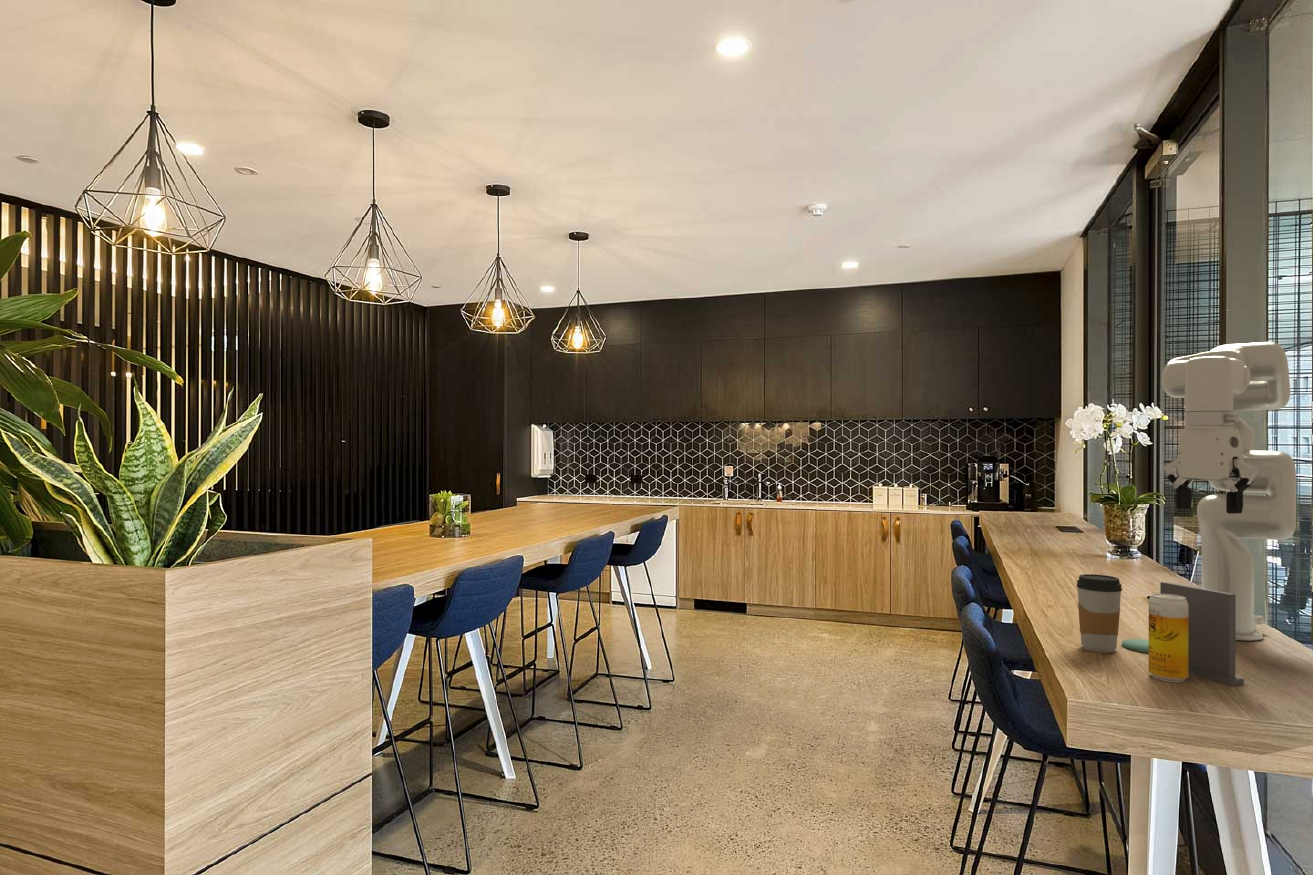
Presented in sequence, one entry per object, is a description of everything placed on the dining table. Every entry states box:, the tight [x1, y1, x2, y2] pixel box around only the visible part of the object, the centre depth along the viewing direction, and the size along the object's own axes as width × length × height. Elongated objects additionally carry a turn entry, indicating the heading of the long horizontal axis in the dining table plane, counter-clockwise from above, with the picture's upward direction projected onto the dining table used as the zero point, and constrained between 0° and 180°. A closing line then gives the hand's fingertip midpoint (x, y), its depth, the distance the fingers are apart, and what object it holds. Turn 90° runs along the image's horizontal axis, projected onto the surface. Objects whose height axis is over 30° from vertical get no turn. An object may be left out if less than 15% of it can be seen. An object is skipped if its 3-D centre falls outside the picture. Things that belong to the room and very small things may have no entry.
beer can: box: [1148, 593, 1189, 683], centre depth 141 cm, size 6×6×15 cm
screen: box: [1159, 581, 1245, 687], centre depth 144 cm, size 3×15×16 cm, turn 19°
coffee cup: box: [1076, 573, 1123, 654], centre depth 161 cm, size 8×8×15 cm
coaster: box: [1121, 638, 1149, 655], centre depth 161 cm, size 10×10×1 cm
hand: (1208, 510), depth 147 cm, fingers open, 9 cm apart
